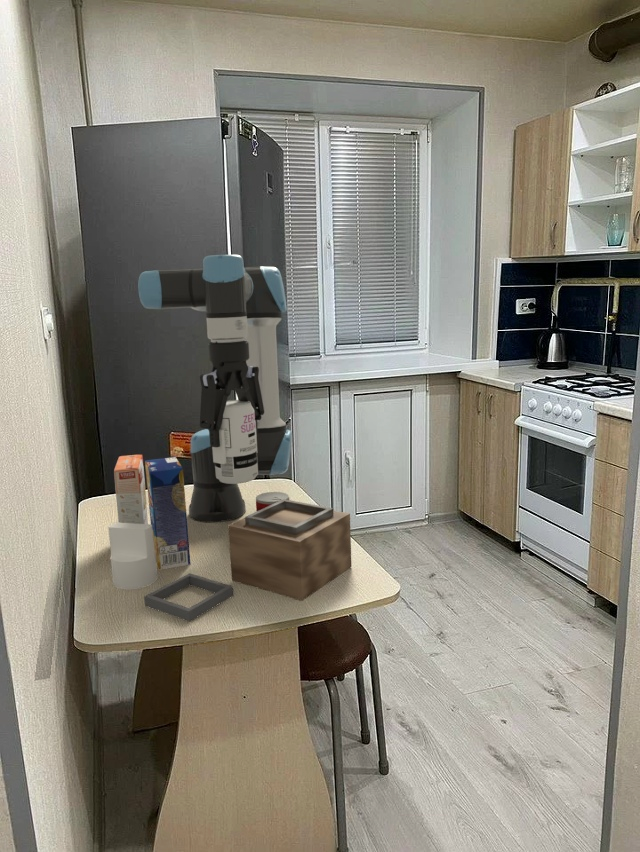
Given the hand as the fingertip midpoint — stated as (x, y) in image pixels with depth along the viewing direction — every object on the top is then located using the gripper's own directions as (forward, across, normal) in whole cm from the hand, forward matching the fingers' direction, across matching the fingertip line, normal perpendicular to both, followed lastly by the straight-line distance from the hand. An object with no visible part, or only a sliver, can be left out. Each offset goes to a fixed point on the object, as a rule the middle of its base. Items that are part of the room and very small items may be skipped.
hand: (235, 457), depth 128 cm
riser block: (+27, +10, -5) cm, 29 cm away
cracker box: (+27, +2, +37) cm, 46 cm away
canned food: (+27, +22, +10) cm, 37 cm away
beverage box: (+27, +2, +24) cm, 36 cm away
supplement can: (+4, 0, 0) cm, 4 cm away
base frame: (+27, -11, +5) cm, 29 cm away
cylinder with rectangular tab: (+27, -10, +22) cm, 36 cm away
